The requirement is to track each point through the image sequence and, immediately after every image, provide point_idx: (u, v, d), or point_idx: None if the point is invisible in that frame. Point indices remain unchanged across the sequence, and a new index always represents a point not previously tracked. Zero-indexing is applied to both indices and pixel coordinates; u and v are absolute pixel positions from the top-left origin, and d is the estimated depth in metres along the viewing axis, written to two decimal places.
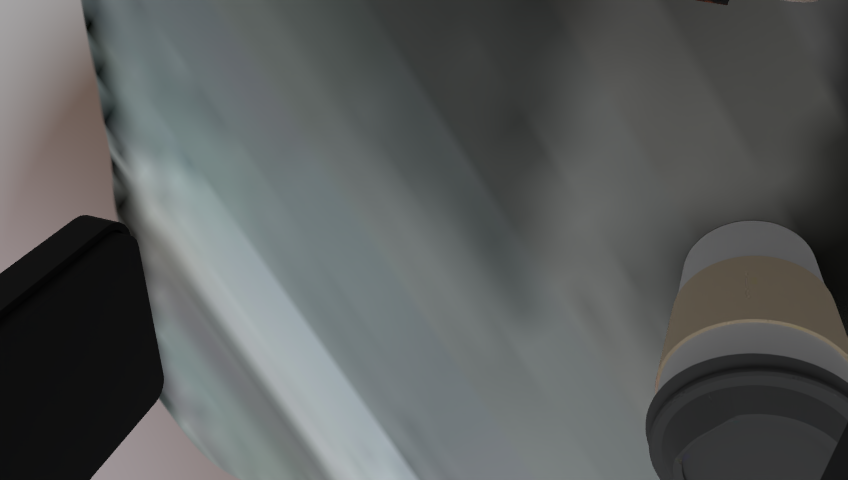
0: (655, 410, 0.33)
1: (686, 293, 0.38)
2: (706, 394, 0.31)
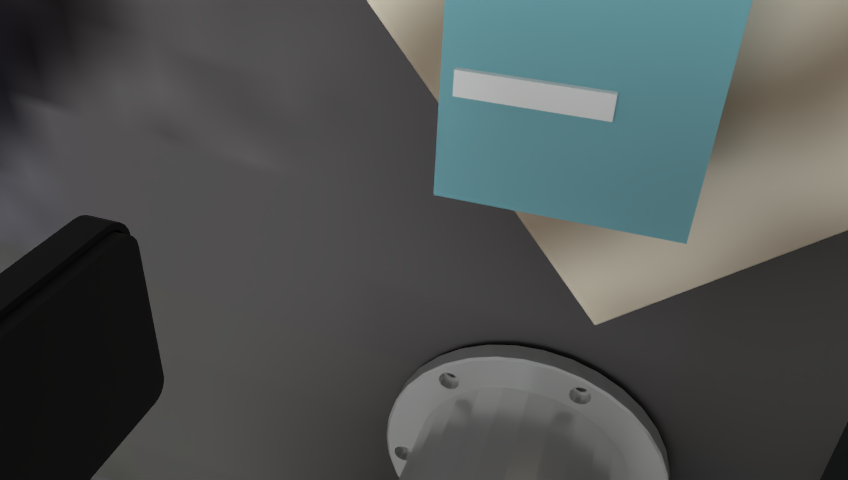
0: None
1: None
2: None
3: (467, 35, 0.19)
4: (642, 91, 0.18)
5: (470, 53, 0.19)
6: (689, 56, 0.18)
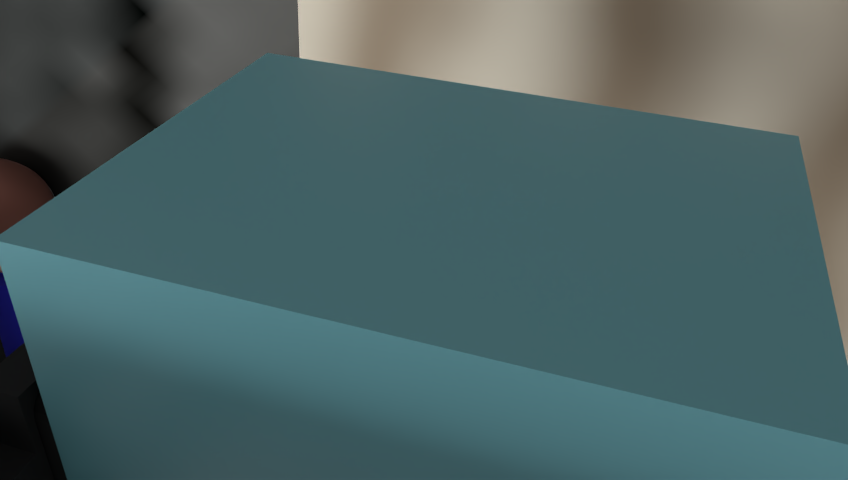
0: None
1: None
2: None
3: (102, 440, 0.08)
4: None
5: (121, 474, 0.08)
6: None
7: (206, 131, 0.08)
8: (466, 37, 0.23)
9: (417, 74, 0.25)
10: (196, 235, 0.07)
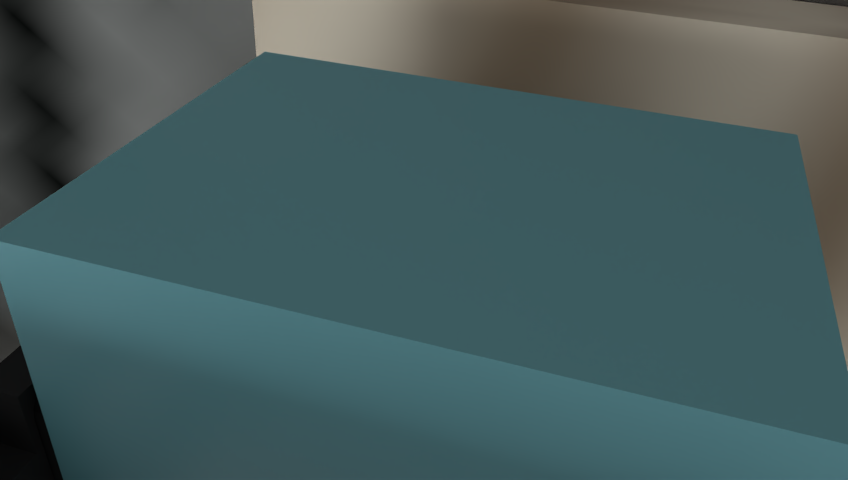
0: None
1: None
2: None
3: (98, 441, 0.08)
4: None
5: (117, 474, 0.08)
6: None
7: (203, 130, 0.08)
8: None
9: None
10: (191, 234, 0.07)
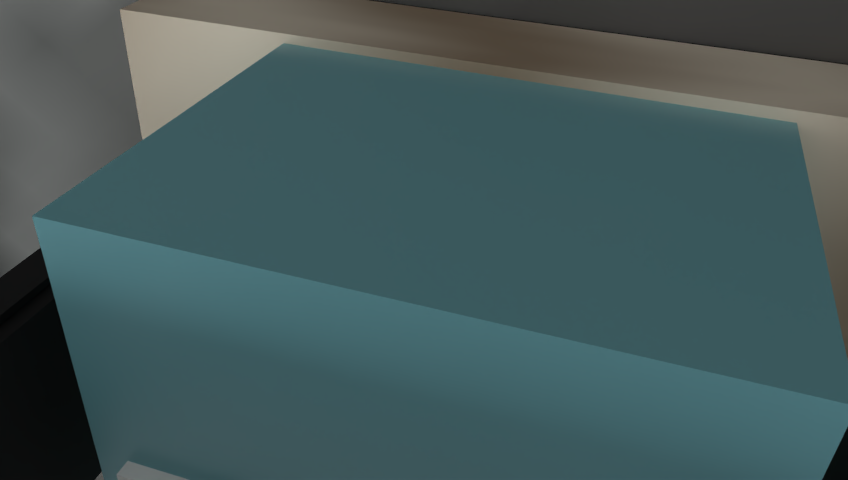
0: None
1: None
2: None
3: (132, 411, 0.08)
4: None
5: (148, 443, 0.08)
6: None
7: (229, 116, 0.09)
8: None
9: None
10: (224, 212, 0.07)
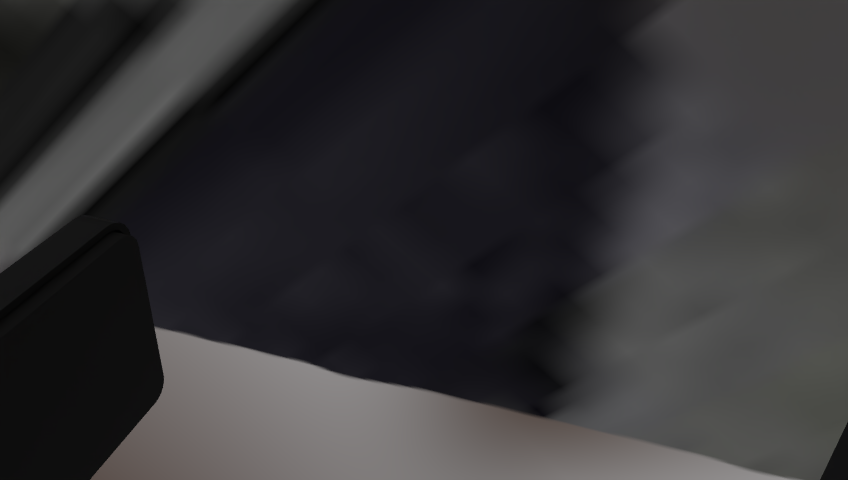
0: None
1: None
2: None
3: None
4: None
5: None
6: None
7: None
8: None
9: None
10: None
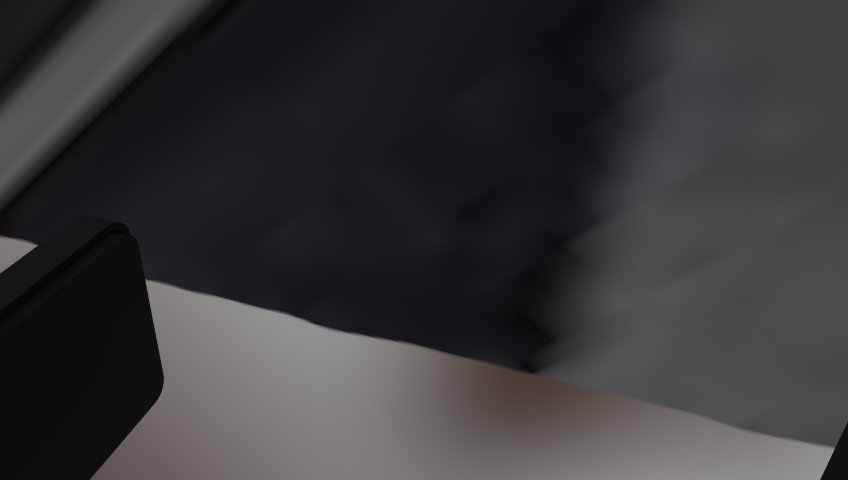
0: None
1: None
2: None
3: None
4: None
5: None
6: None
7: None
8: None
9: None
10: None
